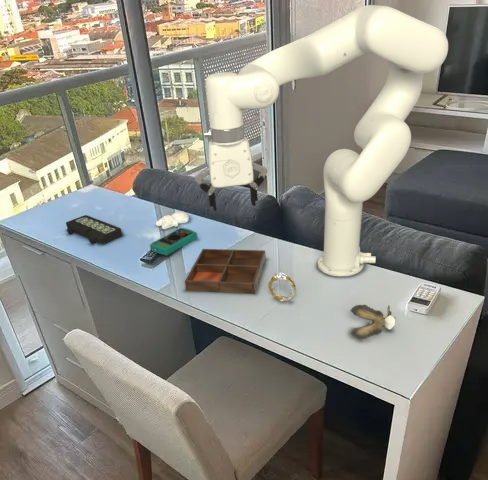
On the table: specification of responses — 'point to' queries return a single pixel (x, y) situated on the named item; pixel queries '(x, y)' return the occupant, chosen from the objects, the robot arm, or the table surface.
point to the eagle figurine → (376, 319)
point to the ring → (283, 277)
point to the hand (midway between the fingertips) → (234, 206)
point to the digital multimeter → (174, 241)
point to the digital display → (93, 229)
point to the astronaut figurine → (173, 220)
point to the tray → (226, 271)
